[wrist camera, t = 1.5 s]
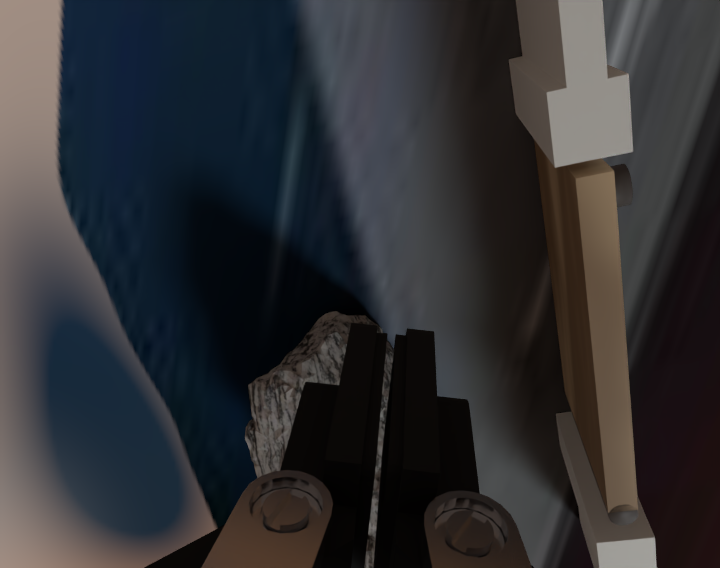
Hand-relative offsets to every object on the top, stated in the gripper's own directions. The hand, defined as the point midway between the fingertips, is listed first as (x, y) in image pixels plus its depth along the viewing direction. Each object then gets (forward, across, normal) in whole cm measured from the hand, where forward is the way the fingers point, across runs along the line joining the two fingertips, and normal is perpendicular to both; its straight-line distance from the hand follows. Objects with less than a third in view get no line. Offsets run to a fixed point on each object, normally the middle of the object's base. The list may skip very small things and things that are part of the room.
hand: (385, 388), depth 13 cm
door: (+19, -9, +5) cm, 21 cm away
